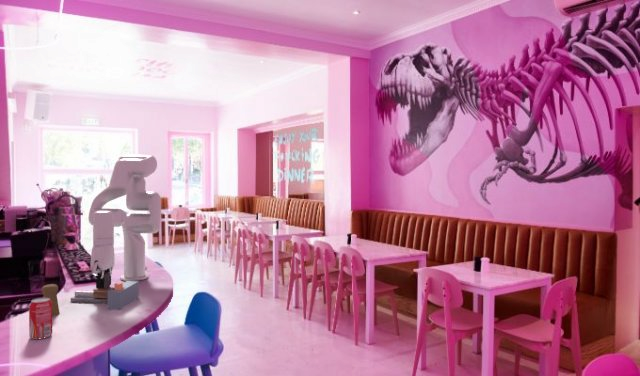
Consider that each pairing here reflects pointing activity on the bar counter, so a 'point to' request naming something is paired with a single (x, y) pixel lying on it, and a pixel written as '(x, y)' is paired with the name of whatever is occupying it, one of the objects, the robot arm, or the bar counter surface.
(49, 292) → the cork
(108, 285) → the carriage
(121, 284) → the button
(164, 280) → the bar counter surface
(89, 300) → the rail
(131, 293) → the cabinet
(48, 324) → the beverage can
